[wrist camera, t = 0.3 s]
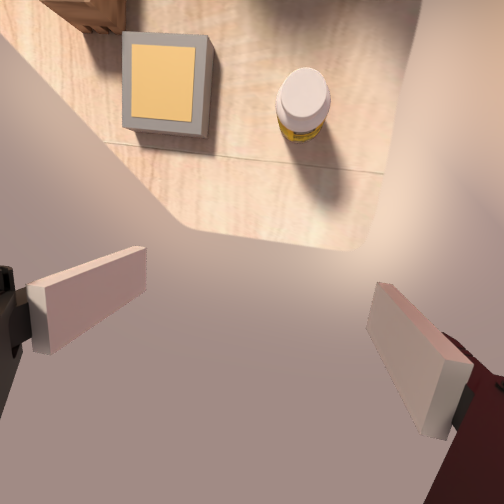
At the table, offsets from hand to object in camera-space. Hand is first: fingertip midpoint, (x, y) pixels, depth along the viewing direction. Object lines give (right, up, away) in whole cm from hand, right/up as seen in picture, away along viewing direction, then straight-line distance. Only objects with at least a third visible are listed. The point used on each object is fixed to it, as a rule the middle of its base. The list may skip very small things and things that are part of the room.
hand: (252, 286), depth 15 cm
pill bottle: (+7, +21, +23) cm, 31 cm away
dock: (-12, +26, +24) cm, 37 cm away
